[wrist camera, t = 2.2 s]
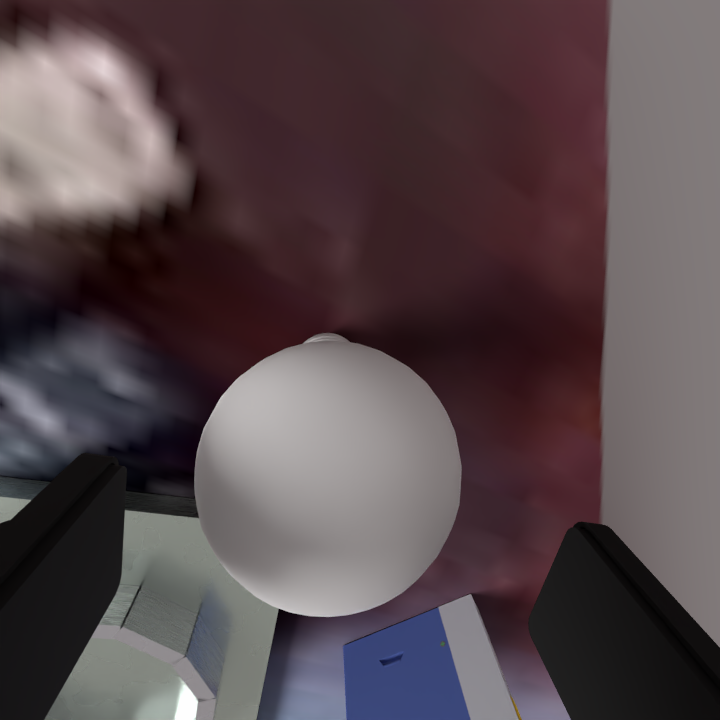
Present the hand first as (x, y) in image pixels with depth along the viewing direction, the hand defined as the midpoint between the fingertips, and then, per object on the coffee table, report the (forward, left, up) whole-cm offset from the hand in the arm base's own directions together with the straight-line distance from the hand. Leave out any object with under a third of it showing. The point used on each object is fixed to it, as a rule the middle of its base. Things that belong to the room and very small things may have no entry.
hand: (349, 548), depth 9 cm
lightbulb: (-1, -1, -10) cm, 10 cm away
